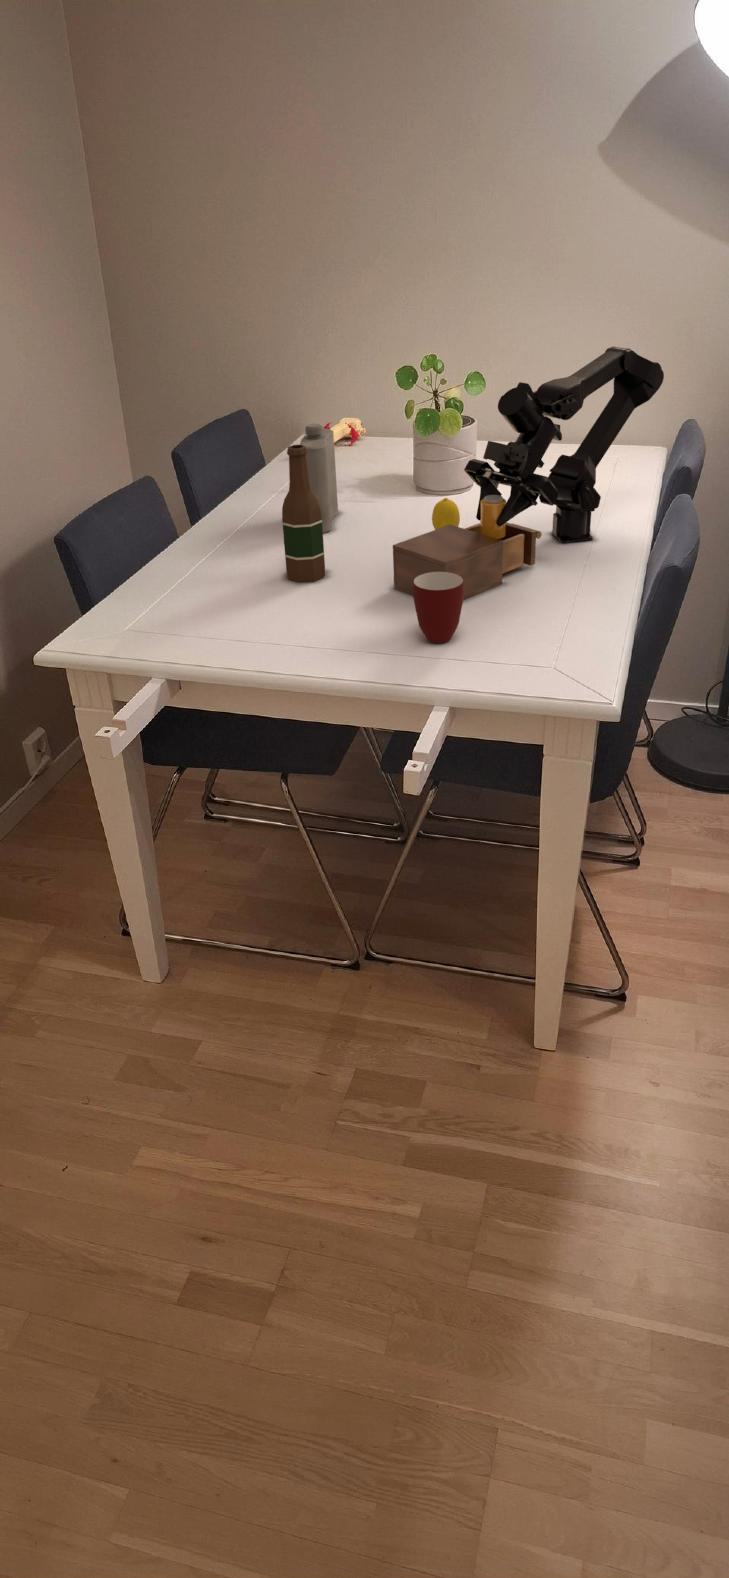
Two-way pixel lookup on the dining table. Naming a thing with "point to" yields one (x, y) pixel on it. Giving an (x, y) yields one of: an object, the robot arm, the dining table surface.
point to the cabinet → (450, 559)
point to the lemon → (445, 514)
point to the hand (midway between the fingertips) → (487, 522)
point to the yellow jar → (492, 516)
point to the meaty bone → (347, 429)
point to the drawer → (516, 545)
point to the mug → (438, 604)
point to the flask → (322, 470)
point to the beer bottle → (302, 523)
